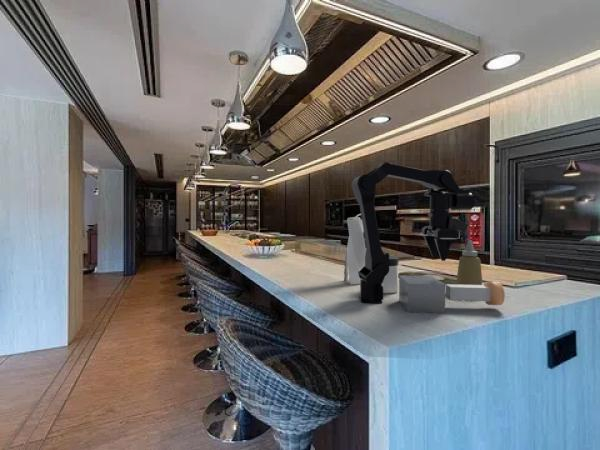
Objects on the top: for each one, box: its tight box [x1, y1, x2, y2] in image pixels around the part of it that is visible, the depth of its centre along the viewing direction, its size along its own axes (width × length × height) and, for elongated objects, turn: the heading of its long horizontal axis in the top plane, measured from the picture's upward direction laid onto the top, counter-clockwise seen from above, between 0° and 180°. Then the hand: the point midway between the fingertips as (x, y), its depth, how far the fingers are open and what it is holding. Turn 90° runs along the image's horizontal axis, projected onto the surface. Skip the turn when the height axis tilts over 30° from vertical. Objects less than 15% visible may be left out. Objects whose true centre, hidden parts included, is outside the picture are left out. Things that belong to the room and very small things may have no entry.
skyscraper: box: [343, 213, 366, 286], centre depth 127 cm, size 8×8×28 cm
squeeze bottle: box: [456, 240, 483, 285], centre depth 113 cm, size 8×8×18 cm
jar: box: [381, 255, 399, 294], centre depth 114 cm, size 9×8×12 cm
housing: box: [398, 274, 446, 314], centre depth 95 cm, size 10×12×8 cm
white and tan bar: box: [445, 281, 505, 306], centre depth 93 cm, size 14×7×7 cm, turn 84°
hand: (438, 258), depth 103 cm, fingers open, 9 cm apart
